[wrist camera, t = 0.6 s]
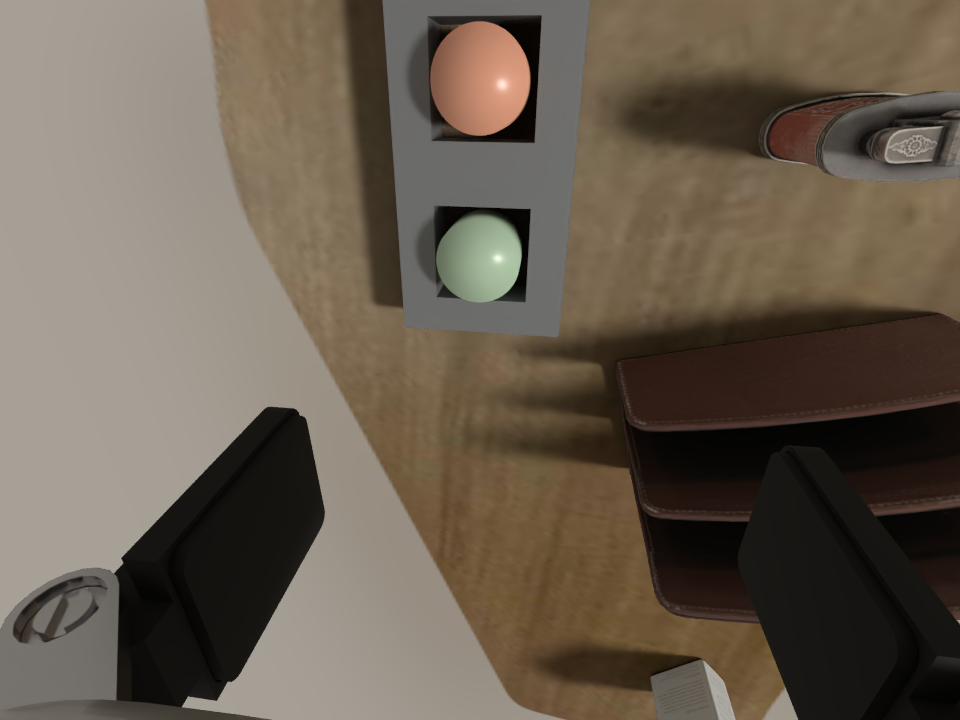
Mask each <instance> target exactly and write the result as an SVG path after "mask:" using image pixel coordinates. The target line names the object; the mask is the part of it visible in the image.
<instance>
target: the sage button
mask: <svg viewBox="0 0 960 720" xmlns="http://www.w3.org/2000/svg"><path fill="white" fill-rule="evenodd" d="M522 254H523V244H522V239H521V235H520V233H519V231H518V229H517V228H516V226H515V225H514V224H513V222H512V221H511V220H510V219H508V218H507V217H506V216H504V215H503V214H501V213H498V212H496V211H492V210H486V209H482V210H474V211H471V212H469V213H466V214H465V215H463V216H462V217H460V218H459V219H458V220H457V221H456V222H455V223H454V224H453V226H452V227H451V228H450V229H449V230H448V232H447V233H446V234H445V235H444V237H443V238H442V240H441V242H440V244H439V246H438V250H437V255H436V264H437V269H438V273H439V276H440V278H441V280H442V282H443V283H444V284H445V286H446V287H447V288H448V289H449V290H450V291H451V292H452V293H453V294H455V295H456V296H458V297H460V298H462V299H464V300H467V301H471V302H489V301H493V300H495V299H498V298H499V297H501V296H503V295H504V294H505V293H507V292H508V291H509V290H510V288H511V287H512V286H513V284H514V283H515V281H516V279H517V276H518V273H519V268H520V264H521V259H522Z"/></svg>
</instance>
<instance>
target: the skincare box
mask: <svg viewBox="0 0 960 720" xmlns="http://www.w3.org/2000/svg"><path fill="white" fill-rule="evenodd" d="M650 679H651V685H652V690H653V696H654V702H655V708H656V714H657V720H735V717H734V713H733V710H732V707H731V703H730V700H729V697H728V694H727V690H726V687H725V683H724V681H723V680H722V679H721V678H720V677H719V676H718V674H717V673H716V672H715V671H714V670H713V669H712V668H711V667H710V666H709V665H708V664H707V663H706V662H705V661H703V660H702V659H701V660H697V661H694V662H691V663H688V664H685V665H682V666H679V667H677V668H674V669H671V670H668V671H665V672H662V673H659V674H656V675H653V676H651V677H650Z"/></svg>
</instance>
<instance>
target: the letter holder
mask: <svg viewBox="0 0 960 720" xmlns="http://www.w3.org/2000/svg"><path fill="white" fill-rule="evenodd" d="M615 370H616V378H617V385H618V389H619V397H620V404H621V411H622V419H623V428H624V434H625V441H626V449H627V455H628V462H629V470H630V475H631V479H632V484H633V488H634V494H635V499H636V504H637V509H638V514H639V519H640V523H641V528H642V533H643V537H644V542H645V546H646V551H647V557H648V563H649V568H650V573H651V578H652V583H653V587H654V593H655V595H656V597H657V599H658V601H659V603H660V604H661V605H662V606H663V607H664V608H665V609H666V610H667V611H669V612H670V613H672V614H674V615H676V616H680V617H685V618H694V619H705V620H715V621H725V622H736V623H751V624H760V621H759V619H758V616H757V614H756V611H755V609H754V606H753V604H752V601H751V598H750V596H749V593H748V591H747V588H746V586H745V583H744V581H743V578H742V576H741V573H740V570H739V566H738V552H739V549H740V546H741V543H742V540H743V537H744V534H745V531H746V528H747V525H748V522H749V519H750V516H751V513H752V510H753V507H754V504H755V501H756V498H757V495H758V492H759V489H760V486H761V483H762V480H763V477H764V474H765V471H766V468H767V465H768V462H769V459H770V457H771V455H772V454H773V453H775V452H780V451H781V449H782V448H783V447H784V446H787V445H789V446H802V447H816V448H821V449H823V450H824V451H825V452H826V453H827V455H828V456H829V457H830V458H831V460H832V461H833V462H834V464H835V465H836V466H837V467H838V469H839V470H840V471H841V473H842V474H843V475H844V476H845V478H846V479H847V480H848V482H849V483H850V484H851V485H852V487H853V488H854V489H855V490H856V492H857V493H858V494H859V496H860V497H861V498H862V499H863V501H864V502H865V503H866V505H867V506H868V507H869V508H870V510H871V511H872V512H873V514H874V515H875V516H876V517H877V519H878V520H879V521H880V523H881V524H882V525H883V526H884V528H885V529H886V530H887V532H888V533H889V534H890V535H891V537H892V538H893V539H894V541H895V542H896V543H897V544H898V546H899V547H900V548H901V550H902V551H903V552H904V553H905V555H906V556H907V557H908V559H909V560H910V561H911V562H912V564H913V565H914V566H915V567H916V569H917V570H918V571H919V573H920V574H921V575H922V576H923V578H924V579H925V580H926V582H927V583H928V584H929V585H930V587H931V588H932V589H933V591H934V592H935V593H936V594H937V596H938V597H939V598H940V600H941V601H942V602H943V603H944V605H945V606H946V607H947V609H948V610H949V611H950V612H951V614H952V615H953V616H954V618H955V619H956V620H960V322H958V321H956V320H954V319H952V318H950V317H948V316H946V315H944V314H936V315H931V316H923V317H918V318H915V317H914V318H910V319H905V320H896V321H886V322H882V323H874V324H867V325H862V326H854V327H847V328H841V329H833V330H826V331H819V332H812V333H806V334H797V335H792V336H783V337H776V338H770V339H762V340H756V341H749V342H740V343H736V344H725V345H722V346H714V347H706V348H701V349H695V350H687V351H680V352H673V353H667V354H659V355H654V356H648V357H641V358H633V359H626V360H621V361H616V362H615Z"/></svg>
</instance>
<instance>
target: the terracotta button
mask: <svg viewBox="0 0 960 720" xmlns="http://www.w3.org/2000/svg"><path fill="white" fill-rule="evenodd" d="M430 83H431V91H432V96H433V99H434V102H435V104H436V106H437V109H438V110H439V112H440V113H441V115H442V116H443V118H444V119H445V120H446V121H447V122H448V123H449V124H450V125H451V126H453V127H454V128H456V129H457V130H459V131H461V132H463V133H466V134H470V135H477V136H482V135H489V134H492V133H495V132H498V131H500V130H501V129H503V128H505V127H507V126H509V125H510V124H512V123H513V122H514V121H515V120H516V119H517V118H518V117H519V116H520V114H521V113H522V111H523V110H524V108H525V106H526V104H527V102H528V99H529V95H530V91H531V70H530V66H529V62H528V59H527V57H526V55H525V53H524V51H523V50H522V48H521V47H520V45H519V44H518V42H517V41H516V39H515V38H514V37H513V36H512V35H511V34H510V33H509V32H508V31H506V30H505V29H503V28H502V27H500V26H498V25H496V24H493V23H489V22H483V21H476V22H470V23H466V24H464V25H461V26H459V27H457V28H456V29H454V30H453V31H452V32H450V33H449V34H448V35H447V36H446V37H445V38H444V40H443V41H442V42H441V44H440V45H439V47H438V49H437V51H436V53H435V56H434V58H433V62H432V66H431V73H430Z"/></svg>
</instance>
